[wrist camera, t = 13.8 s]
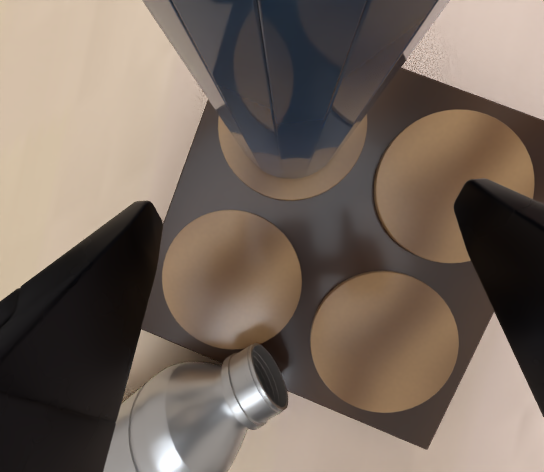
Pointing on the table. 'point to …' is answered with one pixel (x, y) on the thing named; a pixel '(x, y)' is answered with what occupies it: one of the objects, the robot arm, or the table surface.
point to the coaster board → (346, 254)
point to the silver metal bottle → (197, 414)
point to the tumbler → (293, 68)
